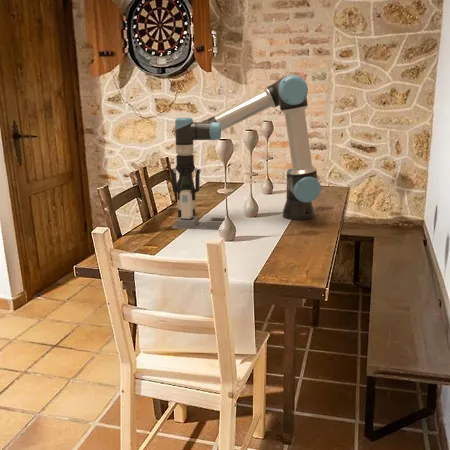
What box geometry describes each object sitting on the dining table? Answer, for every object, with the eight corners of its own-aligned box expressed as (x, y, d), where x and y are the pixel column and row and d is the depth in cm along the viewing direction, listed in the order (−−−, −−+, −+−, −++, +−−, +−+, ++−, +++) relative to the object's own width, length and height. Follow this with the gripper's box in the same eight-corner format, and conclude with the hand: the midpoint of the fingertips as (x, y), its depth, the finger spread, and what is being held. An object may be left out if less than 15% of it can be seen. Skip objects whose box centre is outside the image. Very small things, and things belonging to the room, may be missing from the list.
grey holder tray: (234, 225, 223) (234, 216, 222) (228, 232, 212) (228, 223, 211) (179, 223, 228) (178, 214, 227) (170, 230, 217) (170, 221, 216)
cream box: (192, 216, 222) (191, 190, 219) (189, 219, 217) (188, 192, 214) (184, 216, 223) (183, 189, 219) (180, 218, 218) (179, 192, 215)
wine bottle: (198, 216, 240) (196, 154, 232) (186, 220, 234) (183, 156, 226) (187, 214, 245) (184, 153, 238) (174, 217, 240) (171, 155, 232)
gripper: (163, 155, 211) (165, 208, 217) (201, 155, 208) (203, 210, 214) (168, 153, 218) (171, 204, 224) (206, 153, 215) (207, 206, 221)
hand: (186, 207), depth 219 cm, fingers closed on cream box, 4 cm apart
